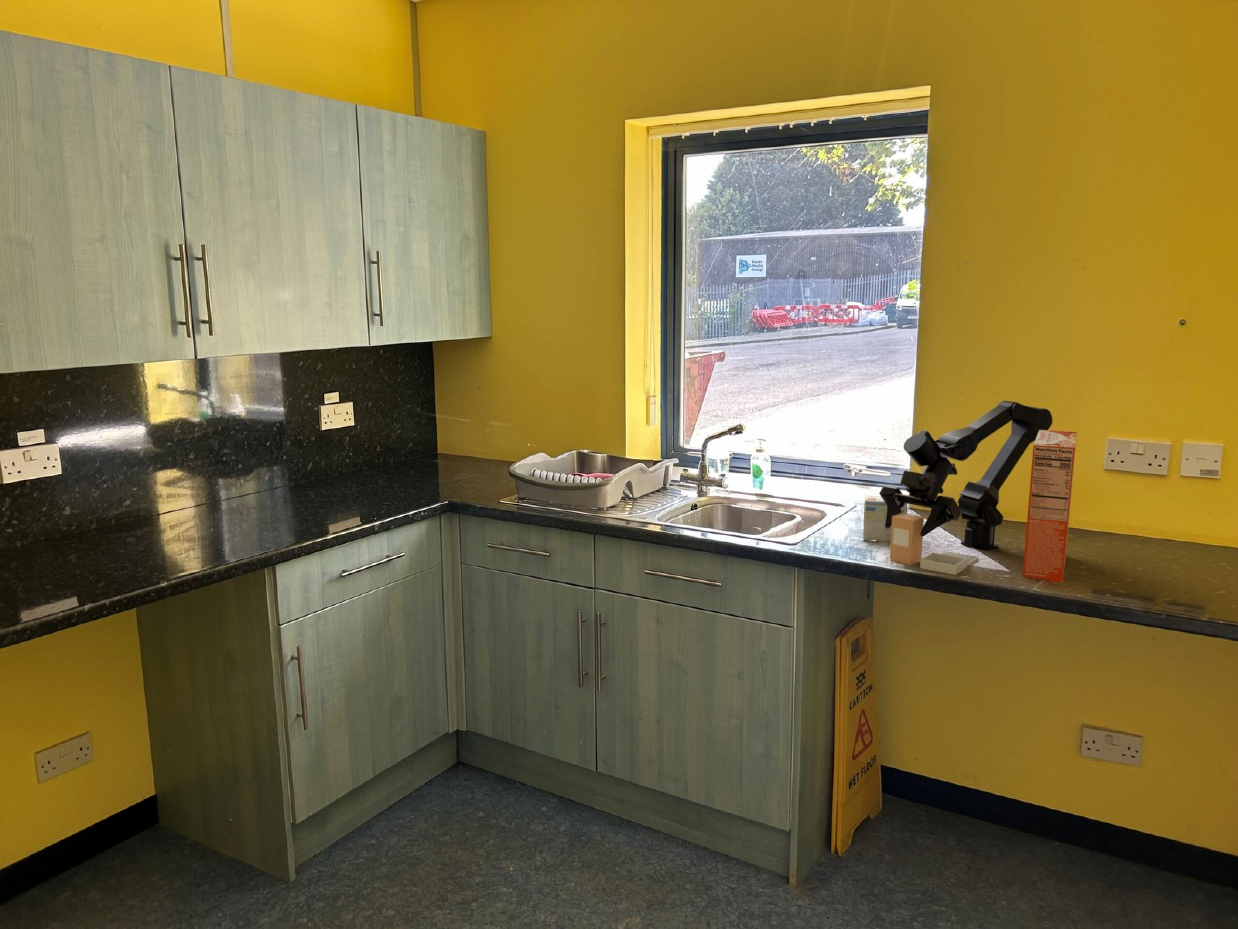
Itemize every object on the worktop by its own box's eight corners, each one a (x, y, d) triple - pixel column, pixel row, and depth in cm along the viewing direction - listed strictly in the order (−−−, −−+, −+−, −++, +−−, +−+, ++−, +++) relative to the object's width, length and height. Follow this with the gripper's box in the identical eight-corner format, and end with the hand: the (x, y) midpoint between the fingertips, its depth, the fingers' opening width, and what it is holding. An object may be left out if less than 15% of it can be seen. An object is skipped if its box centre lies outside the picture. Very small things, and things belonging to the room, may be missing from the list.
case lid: (944, 554, 223) (944, 549, 223) (978, 560, 218) (978, 556, 218) (931, 562, 217) (932, 557, 217) (966, 568, 212) (966, 563, 212)
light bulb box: (905, 537, 239) (908, 496, 237) (906, 544, 233) (908, 502, 230) (862, 534, 242) (864, 494, 240) (862, 541, 235) (864, 500, 233)
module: (900, 557, 221) (903, 513, 219) (921, 563, 217) (923, 517, 215) (889, 561, 218) (891, 516, 216) (909, 567, 214) (912, 520, 212)
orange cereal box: (1029, 551, 226) (1039, 429, 220) (1065, 555, 222) (1077, 432, 216) (1022, 578, 205) (1033, 444, 200) (1062, 583, 202) (1075, 447, 196)
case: (931, 562, 217) (932, 552, 217) (966, 569, 212) (967, 558, 212) (919, 569, 212) (920, 559, 211) (955, 576, 207) (956, 565, 206)
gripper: (885, 452, 222) (856, 504, 217) (957, 463, 208) (927, 519, 203) (902, 480, 229) (874, 531, 224) (973, 492, 215) (944, 547, 210)
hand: (903, 531), depth 215 cm, fingers open, 9 cm apart
